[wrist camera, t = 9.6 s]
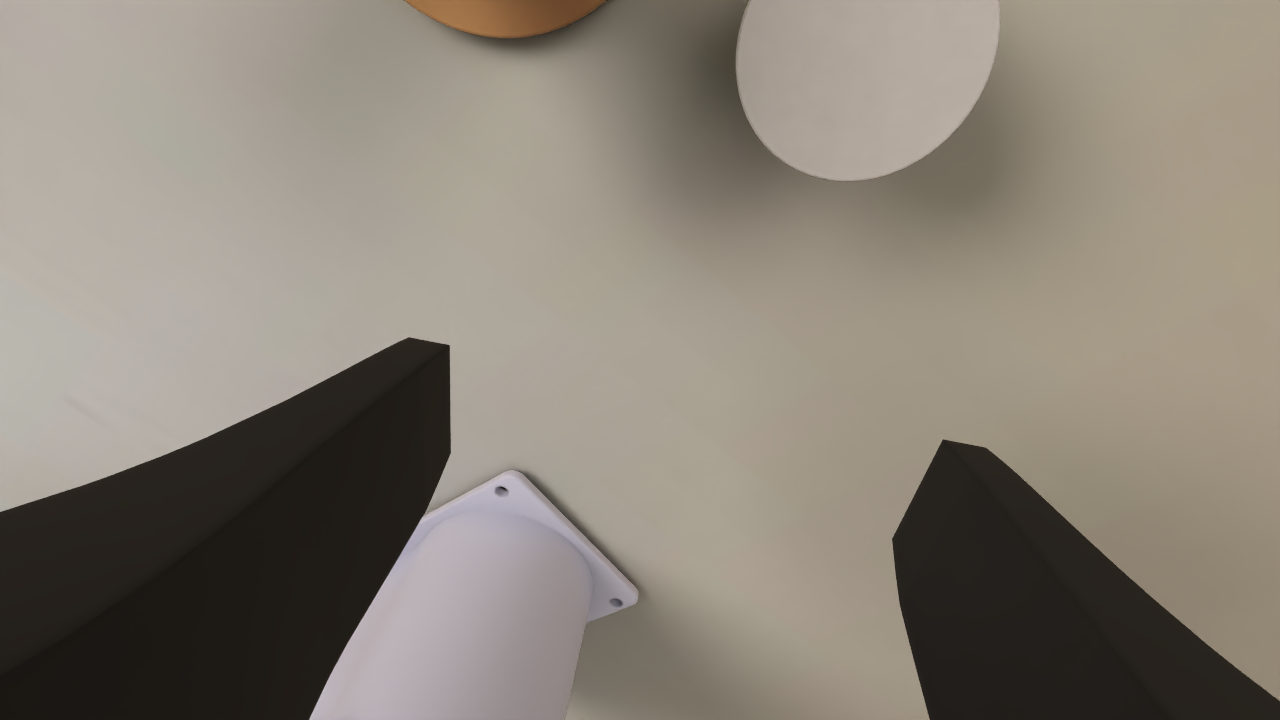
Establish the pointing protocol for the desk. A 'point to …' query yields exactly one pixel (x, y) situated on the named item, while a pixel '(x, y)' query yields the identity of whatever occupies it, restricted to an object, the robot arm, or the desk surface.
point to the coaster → (506, 15)
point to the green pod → (862, 79)
